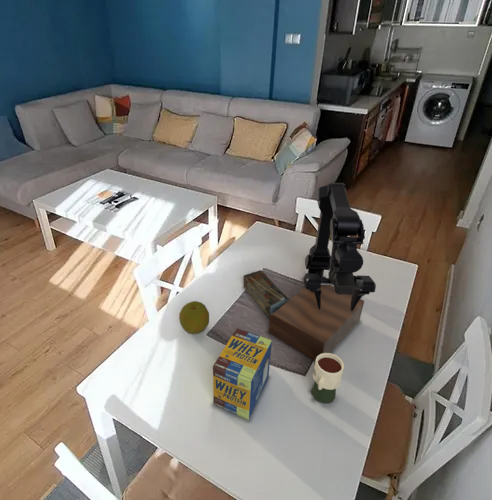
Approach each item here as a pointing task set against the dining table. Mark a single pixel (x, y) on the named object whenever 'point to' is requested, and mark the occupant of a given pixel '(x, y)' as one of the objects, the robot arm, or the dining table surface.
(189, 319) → the apple
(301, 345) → the walnut wood chunk
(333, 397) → the character mug
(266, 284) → the beverage carton
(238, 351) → the protein box
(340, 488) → the dining table surface
